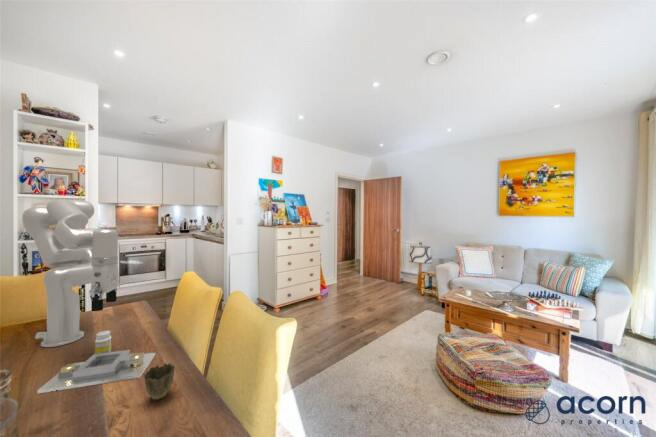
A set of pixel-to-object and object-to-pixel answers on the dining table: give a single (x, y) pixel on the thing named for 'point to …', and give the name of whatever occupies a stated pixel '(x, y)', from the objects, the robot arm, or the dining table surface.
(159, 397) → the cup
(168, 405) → the dining table surface
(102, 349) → the supplement bottle
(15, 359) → the dining table surface
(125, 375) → the gray plate
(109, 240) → the robot arm
